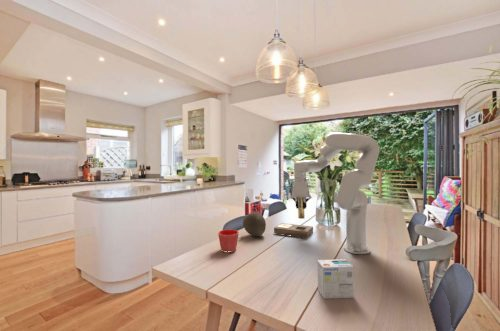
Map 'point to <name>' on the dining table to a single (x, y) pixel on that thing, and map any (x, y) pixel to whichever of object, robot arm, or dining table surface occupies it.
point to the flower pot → (228, 239)
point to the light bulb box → (335, 278)
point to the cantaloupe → (254, 224)
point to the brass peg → (300, 208)
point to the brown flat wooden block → (294, 230)
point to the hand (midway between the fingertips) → (301, 208)
